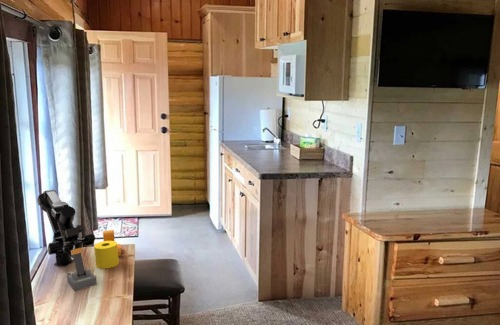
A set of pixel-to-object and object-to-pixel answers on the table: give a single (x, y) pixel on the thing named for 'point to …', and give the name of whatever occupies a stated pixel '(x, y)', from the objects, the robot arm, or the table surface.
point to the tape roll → (106, 254)
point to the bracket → (111, 239)
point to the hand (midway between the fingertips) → (77, 261)
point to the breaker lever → (78, 261)
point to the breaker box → (81, 280)
